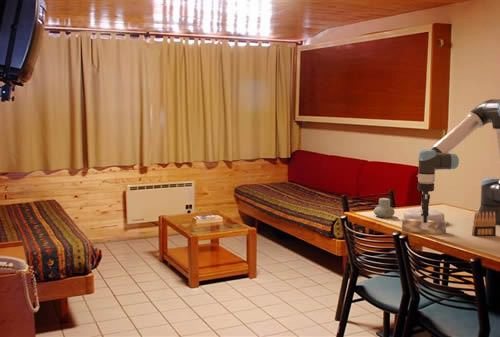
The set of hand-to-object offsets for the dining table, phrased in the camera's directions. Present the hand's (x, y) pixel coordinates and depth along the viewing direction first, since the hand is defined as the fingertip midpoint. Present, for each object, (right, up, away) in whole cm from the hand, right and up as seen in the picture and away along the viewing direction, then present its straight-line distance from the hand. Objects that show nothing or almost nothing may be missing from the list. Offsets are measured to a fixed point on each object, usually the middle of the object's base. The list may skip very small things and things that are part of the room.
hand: (424, 226), depth 262 cm
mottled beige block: (0, -3, 0) cm, 3 cm away
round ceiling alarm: (+7, -1, +24) cm, 25 cm away
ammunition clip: (+26, -4, -6) cm, 27 cm away
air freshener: (-11, +1, +35) cm, 37 cm away
